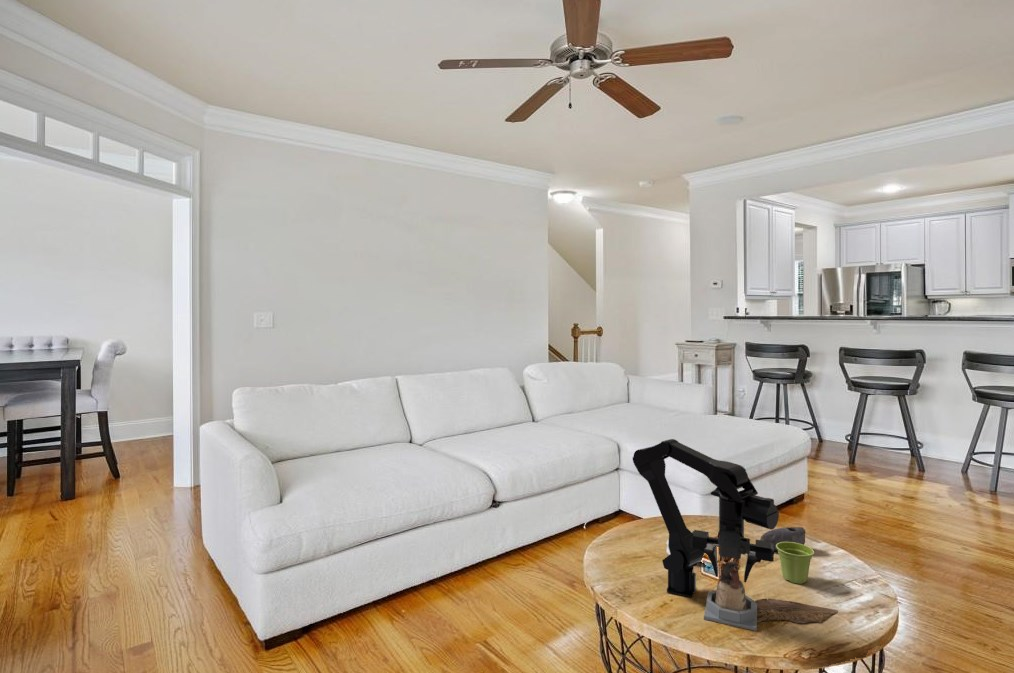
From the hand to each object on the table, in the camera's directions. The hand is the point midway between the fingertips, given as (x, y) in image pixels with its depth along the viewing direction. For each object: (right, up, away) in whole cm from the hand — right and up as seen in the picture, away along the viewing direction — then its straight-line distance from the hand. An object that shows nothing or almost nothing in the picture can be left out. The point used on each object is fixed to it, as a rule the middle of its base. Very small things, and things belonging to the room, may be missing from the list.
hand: (730, 579), depth 130 cm
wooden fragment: (+14, -9, +1) cm, 17 cm away
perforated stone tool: (+32, -8, +36) cm, 49 cm away
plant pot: (+25, -8, +17) cm, 32 cm away
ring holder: (0, -9, 0) cm, 9 cm away
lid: (0, -8, +33) cm, 34 cm away
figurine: (0, -8, 0) cm, 8 cm away
